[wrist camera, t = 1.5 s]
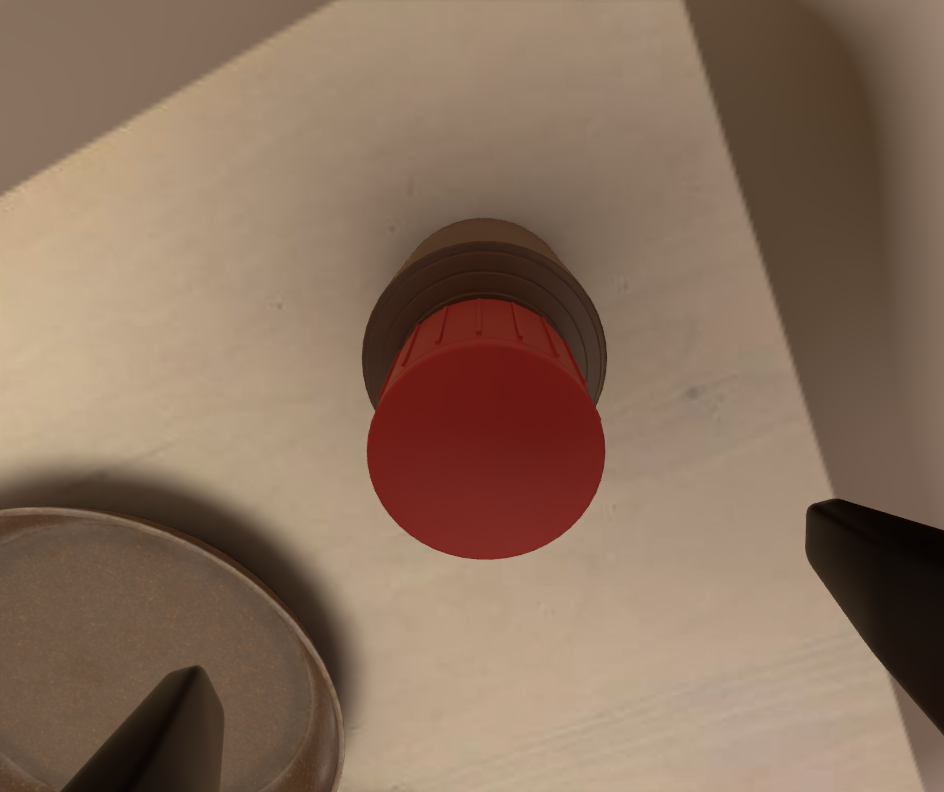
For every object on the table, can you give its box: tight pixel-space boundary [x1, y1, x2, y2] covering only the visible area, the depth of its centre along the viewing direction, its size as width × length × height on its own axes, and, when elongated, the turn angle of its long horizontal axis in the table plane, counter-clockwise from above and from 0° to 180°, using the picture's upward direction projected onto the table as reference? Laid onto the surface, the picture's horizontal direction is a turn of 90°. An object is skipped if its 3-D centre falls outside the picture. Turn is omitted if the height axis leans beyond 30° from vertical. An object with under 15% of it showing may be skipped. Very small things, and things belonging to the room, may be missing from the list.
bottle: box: [362, 218, 607, 411], centre depth 17 cm, size 6×6×12 cm
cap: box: [367, 298, 605, 560], centre depth 13 cm, size 4×4×4 cm
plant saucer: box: [0, 506, 345, 792], centre depth 27 cm, size 21×21×3 cm
